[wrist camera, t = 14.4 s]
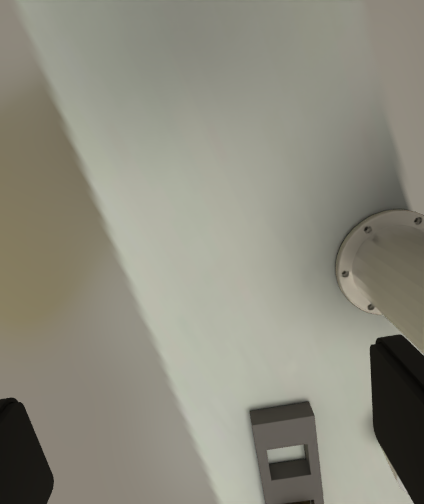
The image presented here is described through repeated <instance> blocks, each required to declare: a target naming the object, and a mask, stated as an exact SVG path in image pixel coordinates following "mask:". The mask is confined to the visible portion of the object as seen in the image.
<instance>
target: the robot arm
mask: <svg viewBox="0 0 424 504" xmlns="http://www.w3.org/2000/svg"><path fill="white" fill-rule="evenodd" d="M414 220H415V221H414ZM365 227H366V229H365V230H364V228H365ZM343 271H344V272H343ZM342 272H343V273H342ZM336 278H337V282H338V285H339V287H340V289H341V291H342V293H343V294H344V295H345V296H346V298H347V299H348V300H349V301H350V302H351V303H352V304H353V305H355V306H356V307H358V308H359V309H361V310H363V311H365V312H367V313H371V314H377V315H384V316H385V317H386V318H387V319H388V320H389V321H390V322H391V323H392V324H393V325H394V326H395V327H396V328H397V329H398V330H399V331H401V332H402V333H403V334H404V335H405V336H406V337H407V338H408V339H409V340H410V341H411V342H412V343H413V344H414V345H415V346H416V347H417V348H418V349H419V350H420V351H421V352H422V353H423V354H424V215H422V214H419V213H417V212H413V211H409V210H388V211H383V212H380V213H377V214H375V215H372V216H370V217H369V218H367V219H365V220H363V221H362V222H361V223H359V224H358V225H357V226H356V227H355V228H354V229H353V230H352V231H351V232H350V233H349V234H348V235H347V237H346V238H345V240H344V242H343V243H342V245H341V247H340V250H339V252H338V255H337V260H336ZM370 364H371V386H372V408H373V427H374V432H375V435H376V438H377V440H378V442H379V444H380V446H381V447H382V449H383V451H384V453H385V454H386V456H387V458H388V459H389V461H390V463H391V465H392V466H393V468H394V470H395V472H396V473H397V475H398V477H399V478H400V480H401V482H402V484H403V485H404V487H405V489H406V490H407V492H408V494H409V496H410V497H411V499H412V501H413V503H414V504H424V356H423V355H422V354H421V353H420V352H419V351H418V350H417V349H416V348H415V347H414V346H413V345H412V344H411V343H410V342H409V341H408V340H407V339H406V338H405V337H404V336H402V335H393V336H386V337H380V338H377V340H376V344H374V345H371V346H370ZM53 484H54V479H53V474H52V472H51V470H50V467H49V465H48V462H47V460H46V458H45V455H44V453H43V451H42V448H41V446H40V443H39V441H38V438H37V436H36V434H35V431H34V429H33V426H32V424H31V421H30V419H29V417H28V414H27V412H26V409H25V407H24V405H23V404H22V403H21V402H18V401H17V400H16V399H15V398H6V399H0V504H47V502H48V499H49V497H50V495H51V493H52V490H53Z"/></svg>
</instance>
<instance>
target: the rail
mask: <svg viewBox="0 0 424 504" xmlns="http://www.w3.org/2000/svg"><path fill="white" fill-rule="evenodd" d="M250 417H251V423H252V429H253V434H254V440H255V446H256V451H257V457H258V462H259V468H260V474H261V479H262V485H263V491H264V496H265V502H266V504H287V503H293V502H300V501H307V500H311V504H324V500H323V490H322V481H321V472H320V462H319V453H318V444H317V435H316V425H315V416H314V413H313V411H312V408H311V406H310V403H309V402H304V403H298V404H292V405H285V406H279V407H273V408H266V409H260V410H254V411H250ZM302 444H304V447H305V455H306V459H300V460H294V461H287V462H280V463H274V464H269V463H268V457H267V451H266V450H270V449H276V448H283V447H289V446H296V445H302Z"/></svg>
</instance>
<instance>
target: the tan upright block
mask: <svg viewBox="0 0 424 504" xmlns="http://www.w3.org/2000/svg"><path fill="white" fill-rule="evenodd" d="M287 504H310V500H307V501H300V502H293V503H287Z"/></svg>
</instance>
